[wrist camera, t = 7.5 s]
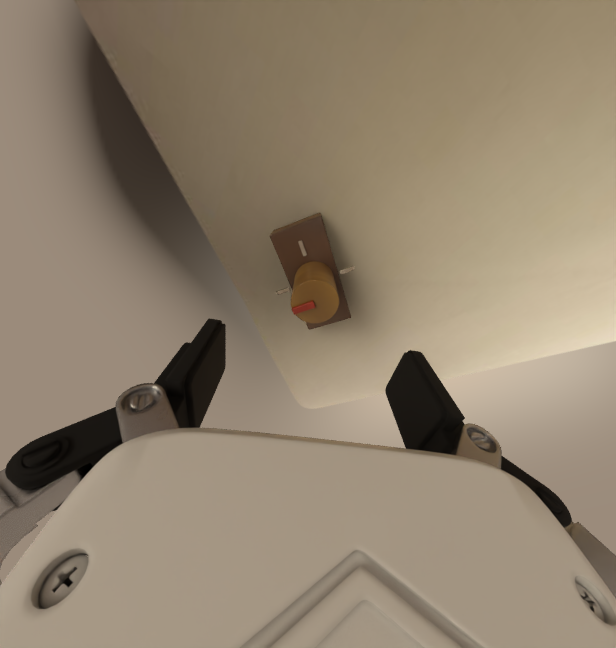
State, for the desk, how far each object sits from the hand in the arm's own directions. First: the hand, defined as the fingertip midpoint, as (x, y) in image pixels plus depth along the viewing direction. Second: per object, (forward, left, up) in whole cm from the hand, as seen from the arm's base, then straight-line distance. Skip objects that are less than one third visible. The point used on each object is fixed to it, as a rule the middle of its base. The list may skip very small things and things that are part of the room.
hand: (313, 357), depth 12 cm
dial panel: (+1, 0, -15) cm, 15 cm away
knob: (+1, 0, -13) cm, 13 cm away
